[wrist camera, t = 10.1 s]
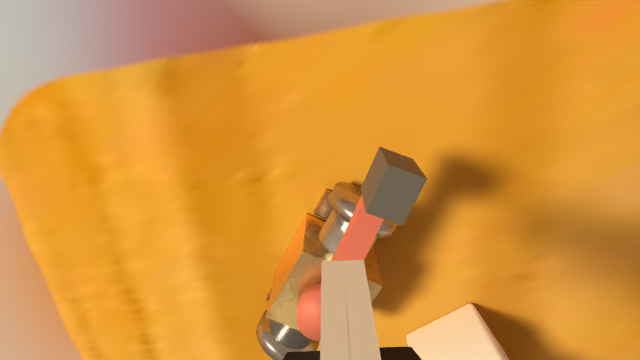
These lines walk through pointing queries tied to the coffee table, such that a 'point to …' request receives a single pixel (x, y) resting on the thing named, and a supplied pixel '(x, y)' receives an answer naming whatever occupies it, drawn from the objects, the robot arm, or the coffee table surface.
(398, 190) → the lever
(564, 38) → the coffee table surface
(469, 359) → the container
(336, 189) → the valve pipe
